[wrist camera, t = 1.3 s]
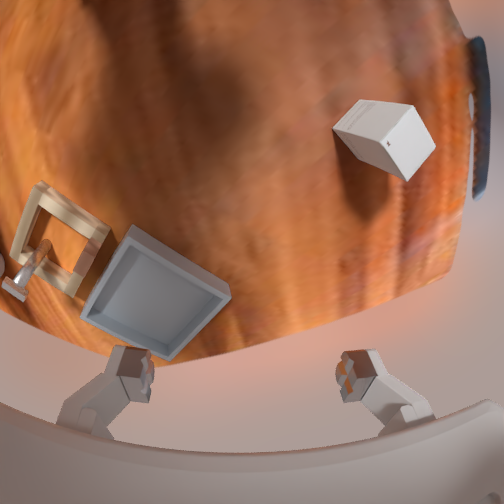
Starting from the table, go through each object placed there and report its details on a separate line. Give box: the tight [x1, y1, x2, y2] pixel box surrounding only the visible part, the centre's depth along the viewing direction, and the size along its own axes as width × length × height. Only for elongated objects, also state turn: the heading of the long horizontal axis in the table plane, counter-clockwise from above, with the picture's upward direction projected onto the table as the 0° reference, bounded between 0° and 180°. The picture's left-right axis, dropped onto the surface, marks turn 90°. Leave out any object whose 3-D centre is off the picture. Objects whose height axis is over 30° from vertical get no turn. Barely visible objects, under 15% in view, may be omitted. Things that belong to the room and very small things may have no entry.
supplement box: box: [332, 100, 436, 181], centre depth 35 cm, size 7×7×13 cm
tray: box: [80, 224, 232, 362], centre depth 46 cm, size 19×19×4 cm
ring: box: [9, 180, 111, 298], centre depth 36 cm, size 14×14×7 cm
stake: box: [2, 239, 52, 302], centre depth 33 cm, size 4×2×13 cm, turn 48°
